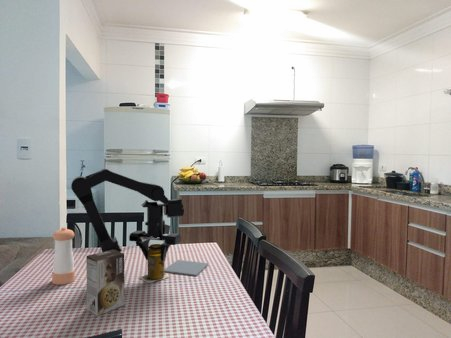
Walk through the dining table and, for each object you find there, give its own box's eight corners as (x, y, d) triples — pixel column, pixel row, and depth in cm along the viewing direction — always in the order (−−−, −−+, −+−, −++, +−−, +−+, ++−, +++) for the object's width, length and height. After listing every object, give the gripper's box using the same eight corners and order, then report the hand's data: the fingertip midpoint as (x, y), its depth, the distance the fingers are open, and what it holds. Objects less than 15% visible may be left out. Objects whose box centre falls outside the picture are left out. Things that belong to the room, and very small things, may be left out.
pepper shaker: (65, 285, 116) (65, 230, 115) (47, 283, 118) (47, 229, 117) (79, 278, 123) (79, 226, 122) (61, 276, 125) (61, 225, 124)
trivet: (196, 276, 127) (196, 274, 127) (162, 271, 131) (162, 270, 131) (208, 264, 141) (208, 263, 141) (177, 261, 145) (177, 259, 145)
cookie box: (113, 299, 106) (113, 248, 105) (125, 305, 102) (125, 252, 101) (85, 309, 99) (85, 255, 98) (97, 316, 95) (97, 259, 94)
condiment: (168, 277, 125) (168, 245, 125) (149, 283, 119) (149, 250, 119) (157, 272, 130) (157, 241, 130) (138, 278, 124) (138, 246, 124)
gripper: (187, 216, 129) (187, 256, 130) (143, 213, 134) (143, 252, 135) (174, 221, 118) (174, 265, 119) (128, 218, 124) (128, 260, 124)
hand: (155, 260), depth 125 cm, fingers closed on condiment, 6 cm apart
